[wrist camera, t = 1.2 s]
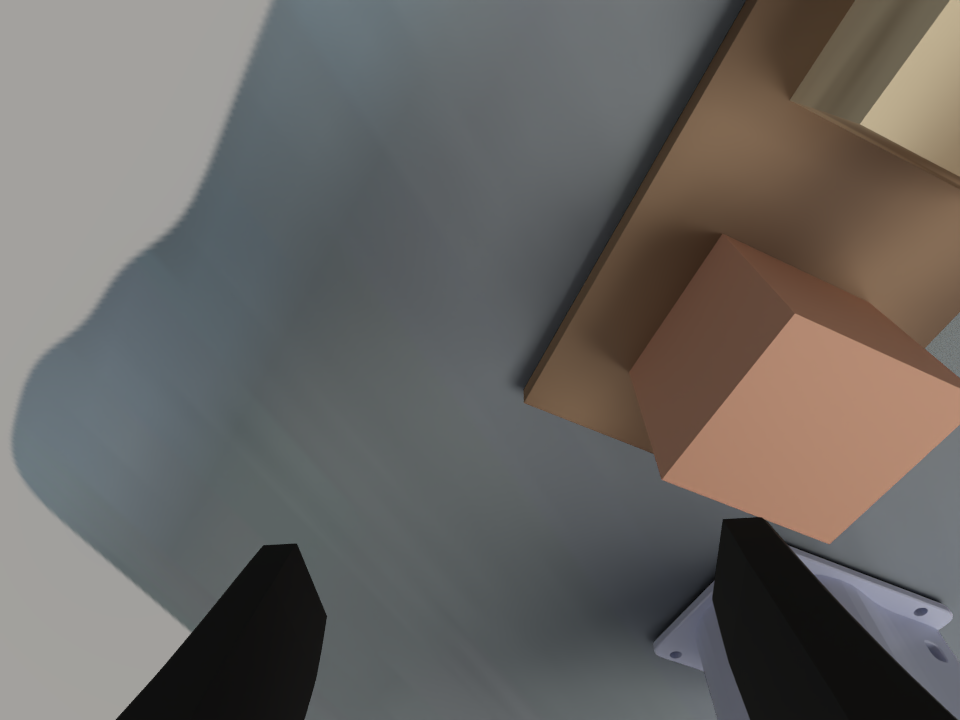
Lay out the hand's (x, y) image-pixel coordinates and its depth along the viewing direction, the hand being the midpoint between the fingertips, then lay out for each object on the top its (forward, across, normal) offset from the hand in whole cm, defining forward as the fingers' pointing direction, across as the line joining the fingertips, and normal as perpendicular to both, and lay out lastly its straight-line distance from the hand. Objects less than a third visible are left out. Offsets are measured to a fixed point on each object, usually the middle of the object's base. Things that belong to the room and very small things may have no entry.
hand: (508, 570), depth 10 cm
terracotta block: (+9, -7, +1) cm, 12 cm away
